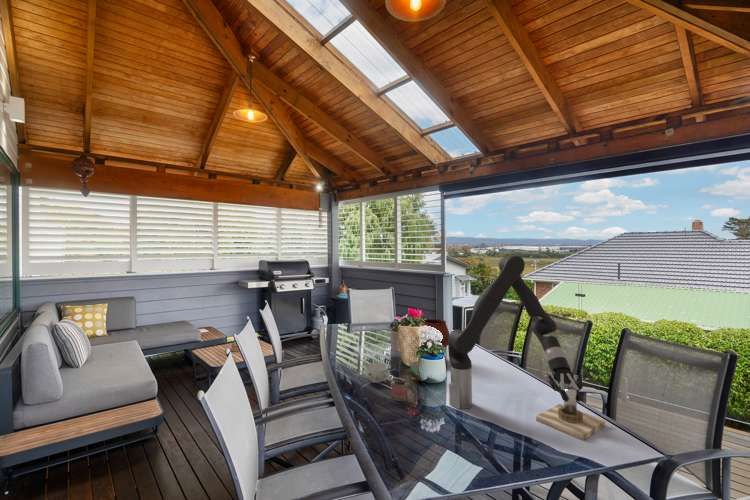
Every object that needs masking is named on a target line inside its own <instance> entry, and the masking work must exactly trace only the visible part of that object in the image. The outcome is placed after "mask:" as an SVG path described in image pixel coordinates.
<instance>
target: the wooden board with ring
mask: <svg viewBox="0 0 750 500" xmlns="http://www.w3.org/2000/svg"><path fill="white" fill-rule="evenodd" d="M535 417H536V418H535V419H536V422H538V423H541V424H543V425H546V426H548V427H550V428H552V429H555V430H557V431H559V432H562V433H564V434H566V435H569V436H571V437H573V438H575V439H578V440H580V441H582V442H584V441H585V440H586V439H588V438H589V437H590V436H593V435H594V434H595V433H597V432H598V431H599V430H601V429H603V428H604V427H605V426H606V420H605V419H603V418H599V417H597V416H593V415H592V414H588V413H586V412H583V411H580V410H579V409H577V411H574V412H572V411H568V410H566V409H564V404H561V403H559V404H556V405H554V406H552V407H551V408H549V409H547V410H545V411H543V412H541V413H539V414H538V415H536V416H535Z"/></svg>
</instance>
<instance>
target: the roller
mask: <svg viewBox="0 0 750 500" xmlns="http://www.w3.org/2000/svg"><path fill="white" fill-rule="evenodd" d="M564 391H565V392H566V395H567V397H568V401H567V402H565V401H564V400H563V405H564V409H566V410H568V411H572V412H574V411H577V410H578V406H577V405H578V403H577V394H576V389H575V388H572V387H569V386H564Z"/></svg>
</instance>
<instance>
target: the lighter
mask: <svg viewBox="0 0 750 500" xmlns="http://www.w3.org/2000/svg"><path fill="white" fill-rule="evenodd" d="M391 380H392V381H391V382H390V386H391V396H390V398H391V399H392V400H394V401H398V402H407V401H408V400H409V398H408V383H407V382H406V379H405V378H402V377H394V376H393V377H392V379H391Z"/></svg>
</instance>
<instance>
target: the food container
mask: <svg viewBox="0 0 750 500" xmlns="http://www.w3.org/2000/svg"><path fill="white" fill-rule="evenodd" d="M418 361H419V360H417V361H415V362H414V361H413V362H412V361H408V366H409V370H410V371H409V373H410V380H411V381H413V382H418V381H421V377H420V372H419V363H418ZM421 382H422V381H421Z"/></svg>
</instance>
